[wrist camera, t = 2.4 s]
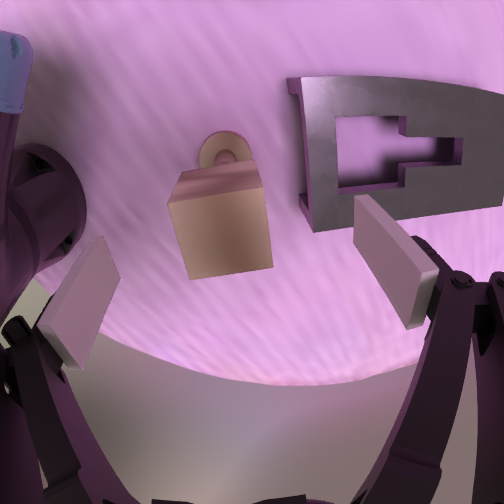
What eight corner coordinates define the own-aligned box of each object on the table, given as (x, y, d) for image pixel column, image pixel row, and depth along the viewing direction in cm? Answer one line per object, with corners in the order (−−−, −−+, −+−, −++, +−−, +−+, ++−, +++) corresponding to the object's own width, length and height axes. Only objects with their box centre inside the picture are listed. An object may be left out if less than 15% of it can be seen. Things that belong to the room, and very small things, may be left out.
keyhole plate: (299, 206, 33) (313, 232, 28) (286, 78, 25) (300, 77, 20) (474, 187, 32) (501, 205, 27) (480, 89, 25) (512, 97, 20)
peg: (205, 181, 30) (186, 284, 16) (196, 135, 28) (160, 199, 13) (253, 173, 30) (278, 270, 16) (246, 127, 28) (268, 181, 13)
